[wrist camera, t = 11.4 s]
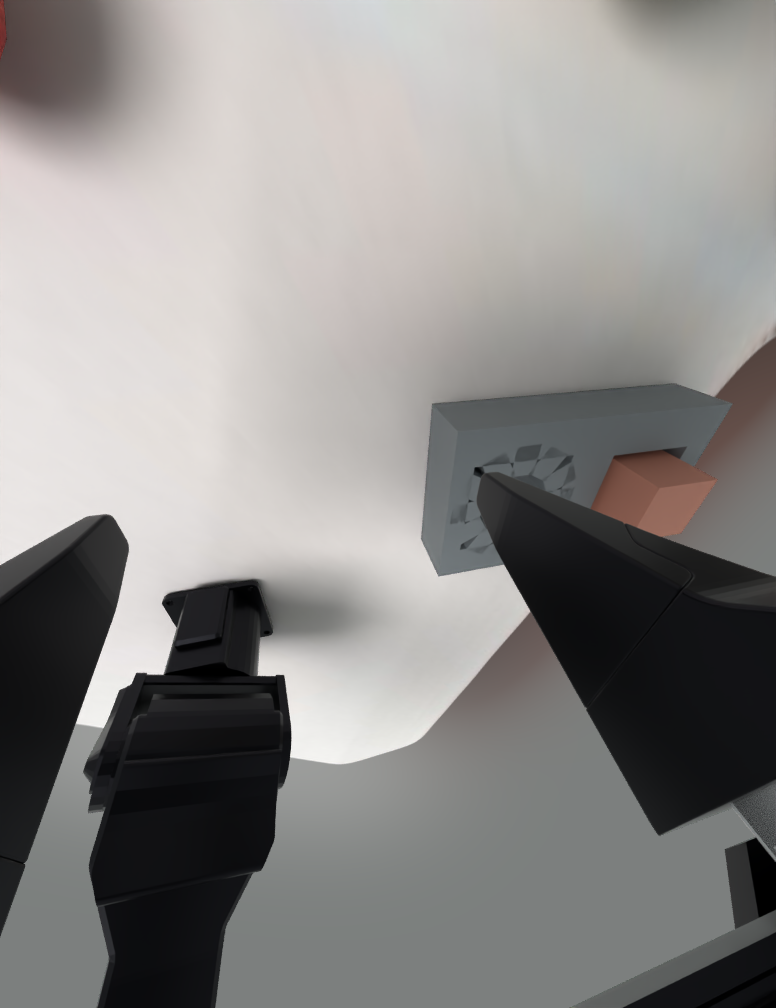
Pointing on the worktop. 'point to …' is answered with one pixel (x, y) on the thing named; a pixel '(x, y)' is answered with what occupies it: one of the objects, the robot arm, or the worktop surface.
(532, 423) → the socket block
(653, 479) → the square peg
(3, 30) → the onion
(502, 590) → the worktop surface
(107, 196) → the worktop surface
